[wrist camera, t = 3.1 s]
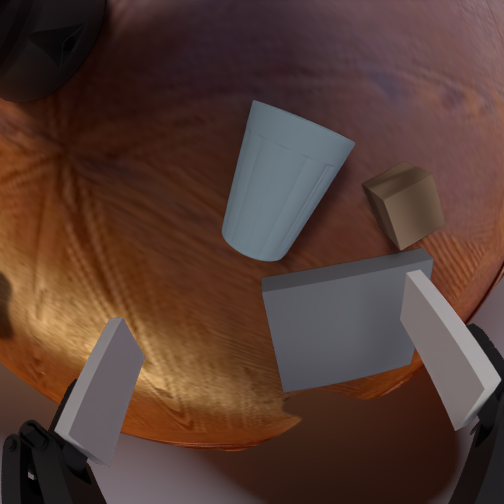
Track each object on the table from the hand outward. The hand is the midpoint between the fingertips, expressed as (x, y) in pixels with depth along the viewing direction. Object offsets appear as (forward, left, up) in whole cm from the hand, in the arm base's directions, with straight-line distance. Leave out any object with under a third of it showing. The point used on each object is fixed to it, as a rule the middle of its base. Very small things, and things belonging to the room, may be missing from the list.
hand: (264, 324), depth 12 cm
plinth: (+8, -16, -15) cm, 23 cm away
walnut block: (+13, -1, -15) cm, 20 cm away
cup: (0, 0, -16) cm, 16 cm away
